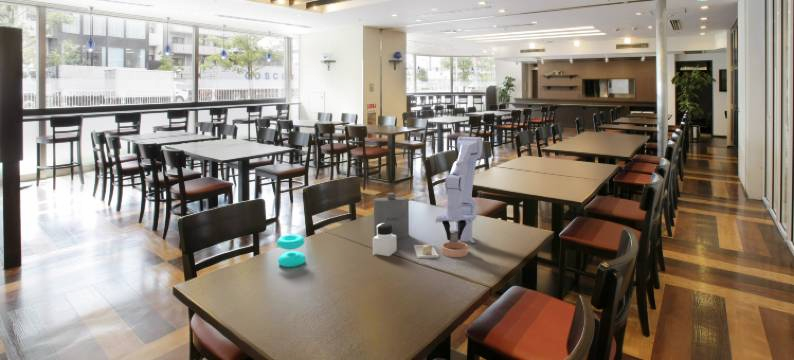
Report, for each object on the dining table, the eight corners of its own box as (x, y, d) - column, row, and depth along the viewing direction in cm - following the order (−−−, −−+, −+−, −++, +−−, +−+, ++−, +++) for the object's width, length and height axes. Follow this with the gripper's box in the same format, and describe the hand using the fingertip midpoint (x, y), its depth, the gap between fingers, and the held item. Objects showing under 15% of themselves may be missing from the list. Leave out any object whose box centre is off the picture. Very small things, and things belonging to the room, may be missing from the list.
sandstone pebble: (421, 253, 179) (421, 244, 178) (431, 252, 179) (431, 244, 178) (423, 256, 175) (423, 247, 175) (432, 256, 176) (432, 247, 175)
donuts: (300, 242, 165) (273, 242, 166) (302, 268, 167) (275, 268, 168) (307, 233, 175) (280, 233, 175) (308, 258, 177) (282, 258, 178)
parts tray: (414, 248, 186) (414, 245, 186) (433, 248, 186) (433, 244, 186) (417, 260, 174) (417, 256, 174) (438, 259, 175) (438, 255, 174)
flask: (375, 241, 195) (374, 195, 191) (373, 237, 201) (372, 192, 197) (410, 239, 197) (409, 194, 193) (407, 235, 203) (407, 190, 199)
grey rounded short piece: (448, 239, 182) (448, 230, 182) (457, 239, 183) (457, 230, 182) (450, 242, 179) (450, 233, 178) (459, 242, 179) (459, 233, 178)
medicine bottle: (396, 252, 183) (396, 222, 180) (389, 258, 176) (388, 228, 174) (380, 249, 186) (380, 220, 183) (372, 255, 179) (371, 225, 177)
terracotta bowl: (439, 250, 184) (439, 241, 183) (464, 249, 185) (464, 240, 184) (444, 259, 174) (444, 250, 174) (470, 258, 175) (470, 249, 174)
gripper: (437, 208, 173) (436, 243, 176) (475, 207, 175) (474, 241, 177) (434, 204, 180) (434, 237, 183) (470, 203, 181) (470, 236, 184)
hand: (453, 239), depth 181 cm, fingers closed on grey rounded short piece, 4 cm apart
